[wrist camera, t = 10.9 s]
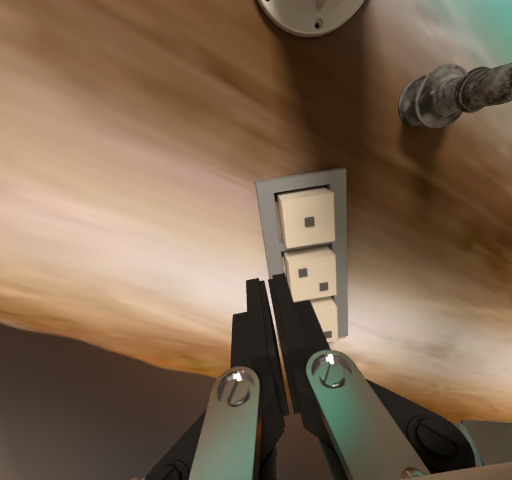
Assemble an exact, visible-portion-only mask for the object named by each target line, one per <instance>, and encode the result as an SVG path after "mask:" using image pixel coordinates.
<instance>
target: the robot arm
mask: <svg viewBox="0 0 512 480" xmlns="http://www.w3.org/2000/svg"><path fill="white" fill-rule="evenodd" d="M257 1H258V3H259V5H260V6H261V8H262V9H263V11H264V12H265V14H266V15H267V16H268V17H269V18H270V19H271V20H272V21H273V22H274V23H275V24H276V25H277V26H278V27H280V28H281V29H283V30H284V31H286V32H288V33H291V34H293V35H296V36H301V37H318V36H322V35H325V34H328V33H331V32H332V31H334V30H336V29H337V28H339V27H341V26H342V25H343V24H344V23H345V22H346V21H348V20H349V19H350V18H351V17H352V16H353V15H354V13H355V12H356V11H357V10H358V9H359V8H360V6H361V5H362V3H363V2H364V0H270V1H269V2H268V1H266V0H257ZM315 25H318V29H316V28H315ZM272 277H273V279H269V280H268V282H269V288H270V293H271V299H272V304H273V309H274V315H275V320H276V325H277V331H278V336H279V342H280V347H281V352H282V357H283V362H284V367H285V371H286V376H287V381H288V386H289V391H290V395H291V400H292V405H293V410H294V414H297V413H301V417H302V422H303V425H304V428H305V429H307V430H308V431H309V432H311V433H312V434H313V435H315V436H316V437H317V440H318V443H319V446H320V448H321V451H322V454H323V456H324V459H325V461H326V464H327V466H328V469H329V472H330V474H331V477H332V480H512V423H507V422H493V421H478V420H463V419H462V420H461V423H451V422H450V421H448V420H446V419H445V418H443V417H442V416H440V415H438V414H436V413H434V412H432V411H430V410H428V409H426V408H424V407H422V406H420V405H418V404H416V403H414V402H412V401H410V400H408V399H406V398H404V397H402V396H399V395H397V394H395V393H393V392H391V391H389V390H387V389H385V388H383V387H381V386H379V385H377V384H375V383H373V382H371V381H369V380H367V379H365V378H364V376H363V375H362V374H361V372H360V371H359V369H358V368H357V366H356V365H355V363H354V362H353V361H352V360H351V359H350V358H349V357H348V356H347V355H345V354H343V353H342V352H338V351H335V350H331V349H330V347H329V345H328V342H327V340H326V337H325V335H324V333H323V330H322V328H321V325H320V323H319V321H318V318H317V316H316V313H315V311H314V308H313V306H312V304H311V302H310V300H305V301H300V302H295V303H294V301H293V298H292V295H291V292H290V289H289V285H288V282H287V279H286V276H285V273H282V274H277V275H272ZM246 293H247V312H244V313H238V314H234V315H233V322H232V344H231V367H230V369H229V370H226V371H225V372H224V373H222V374H221V375H220V376H219V377H218V379H217V380H216V382H215V383H214V386H213V388H212V392H211V396H210V400H209V403H208V407H207V410H206V411H205V412H204V413H203V414H202V415H201V416H200V417H199V418H198V420H196V422H195V423H194V424H193V425H192V426H191V427H190V428H189V429H188V430H187V431H186V432H185V434H184V435H183V436H182V437H181V438H180V439H179V440H178V441H177V442H176V443H175V444H174V445H173V447H172V448H171V449H170V450H169V451H168V452H167V453H166V454H165V455H164V456H163V457H162V459H161V460H160V461H159V462H158V463H157V464H156V465H155V466H154V467H153V468H152V470H151V471H150V472H149V474H148V475H147V476H146V478H144V479H142V480H277V445H276V443H277V442H278V440H279V438H280V437H281V435H282V434H283V432H284V427H285V423H284V416H286V415H289V410H288V404H287V398H286V392H285V386H284V381H283V375H282V369H281V363H280V358H279V352H278V346H277V340H276V334H275V329H274V325H273V320H272V315H271V310H270V306H269V301H268V296H267V292H266V287H265V282H264V281H259V278H256V279H251V280H246ZM132 480H137V478H135V479H132Z"/></svg>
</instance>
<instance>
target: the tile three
mask: <svg viewBox="0 0 512 480" xmlns="http://www.w3.org/2000/svg"><path fill="white" fill-rule="evenodd" d="M308 300H310V302H311V304H312V306H313V308H314V311H315V313H316V316H317V318H318V321H319V323H320V325H321V328H322V330H323V333H324V335H325V337H326V340H327V342H331V341H338V324H337V306H336V305H335V303H334V301H333V299H332V298H331V296H327V297H321V298H314V299H308ZM302 301H305V300H302ZM296 302H300V301H296ZM294 303H295V302H294Z"/></svg>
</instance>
